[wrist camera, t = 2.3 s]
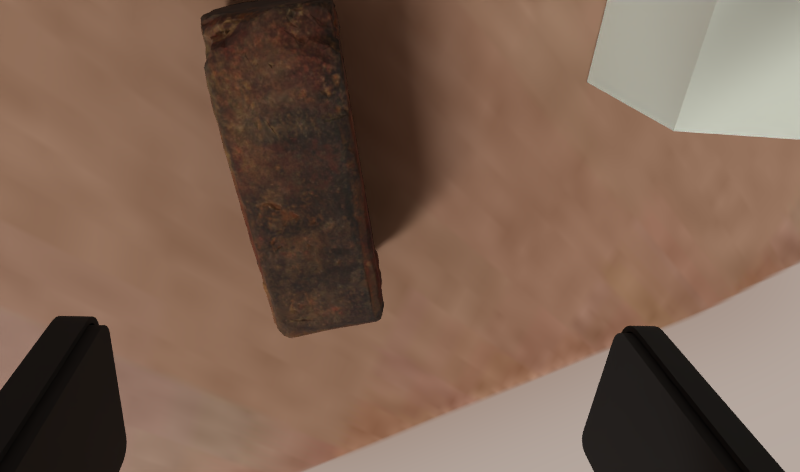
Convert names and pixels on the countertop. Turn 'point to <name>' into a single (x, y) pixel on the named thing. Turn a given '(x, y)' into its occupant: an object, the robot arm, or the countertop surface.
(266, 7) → the brick
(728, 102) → the sage block
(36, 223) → the countertop surface
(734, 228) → the countertop surface
